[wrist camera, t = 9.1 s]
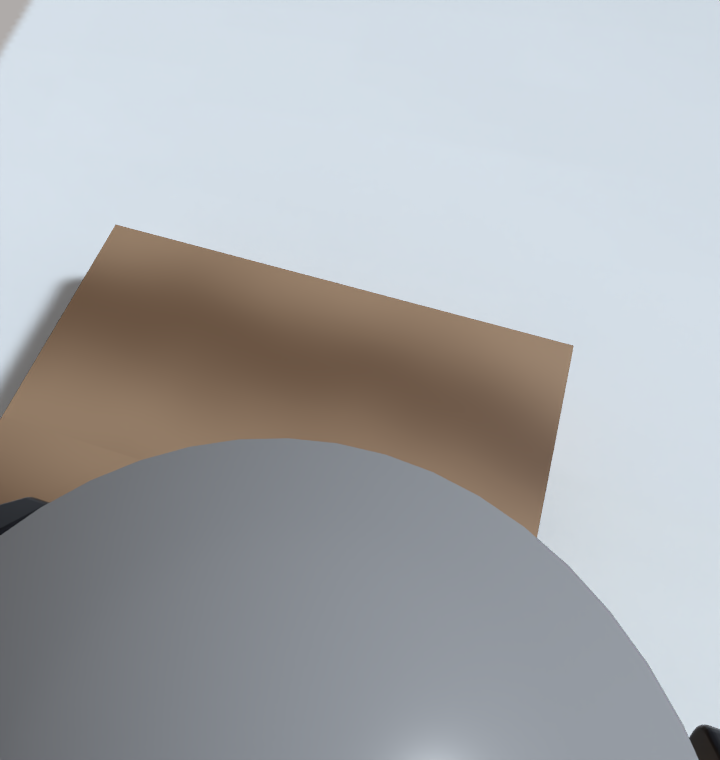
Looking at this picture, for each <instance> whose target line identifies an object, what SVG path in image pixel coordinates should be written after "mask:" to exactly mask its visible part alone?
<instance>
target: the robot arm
mask: <svg viewBox="0 0 720 760" xmlns="http://www.w3.org/2000/svg"><path fill="white" fill-rule="evenodd" d="M48 503H50V502H47V501H44V500H41V499H38V498H35V497H26V498H22V499H18V500H15V501H11V502H7V503H4V504H0V535H2V534H3V533H5V532H6V531H8V530H9V529H10V528H12V527H13V526H15V525H16V524H18V523H19V522H21V521H22V520H23V519H25V518H26V517H28V516H29V515H31V514H32V513H34V512H35V511H36V510H38V509H39V508H41V507H42V506H44V505H46V504H48ZM689 739H690V741H691V744H692V746H693V748H694V750H695V753H696V755H697V757H698V759H699V760H720V729H718V728H715V727H712V726H709V725H700V726H698V727H696V729H695V730H694V731H693V733H692V734H691V736H690V737H689Z"/></svg>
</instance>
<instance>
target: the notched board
mask: <svg viewBox="0 0 720 760" xmlns="http://www.w3.org/2000/svg"><path fill="white" fill-rule="evenodd" d="M572 351H573V345H569V344H565V343H561V342H557V341H554V340H550V339H546V338H542V337H539V336H535V335H531V334H527V333H523V332H520V331H516V330H512V329H508V328H504V327H501V326H497V325H493V324H489V323H486V322H482V321H478V320H474V319H470V318H467V317H463V316H459V315H455V314H452V313H448V312H444V311H440V310H436V309H433V308H429V307H425V306H421V305H418V304H414V303H410V302H406V301H402V300H399V299H395V298H391V297H387V296H384V295H380V294H376V293H372V292H368V291H365V290H361V289H357V288H353V287H349V286H346V285H342V284H338V283H334V282H331V281H327V280H323V279H319V278H315V277H312V276H308V275H304V274H300V273H297V272H293V271H289V270H285V269H281V268H278V267H274V266H270V265H266V264H263V263H259V262H255V261H251V260H247V259H244V258H240V257H236V256H232V255H228V254H225V253H221V252H217V251H213V250H210V249H206V248H202V247H198V246H194V245H191V244H187V243H183V242H179V241H176V240H172V239H168V238H164V237H160V236H157V235H153V234H149V233H145V232H142V231H138V230H134V229H130V228H126V227H123V226H119V225H115V227H114V228H113V230H112V232H111V233H110V235H109V237H108V239H107V240H106V242H105V244H104V245H103V247H102V249H101V250H100V252H99V254H98V255H97V257H96V259H95V260H94V262H93V264H92V266H91V267H90V269H89V271H88V272H87V274H86V276H85V277H84V279H83V281H82V282H81V284H80V286H79V287H78V289H77V291H76V293H75V294H74V296H73V298H72V299H71V301H70V303H69V304H68V306H67V308H66V309H65V311H64V313H63V314H62V316H61V318H60V320H59V321H58V323H57V325H56V326H55V328H54V330H53V331H52V333H51V335H50V336H49V338H48V340H47V341H46V343H45V345H44V347H43V348H42V350H41V352H40V353H39V355H38V357H37V358H36V360H35V362H34V363H33V365H32V367H31V368H30V370H29V372H28V374H27V375H26V377H25V379H24V380H23V382H22V384H21V385H20V387H19V389H18V390H17V392H16V394H15V395H14V397H13V399H12V401H11V402H10V404H9V406H8V407H7V409H6V411H5V412H4V414H3V416H2V417H1V419H0V504H4V503H7V502H11V501H15V500H18V499H22V498H26V497H35V498H38V499H41V500H44V501H47V502H52V501H54V500H55V499H57V498H59V497H61V496H63V495H65V494H66V493H68V492H70V491H72V490H74V489H76V488H77V487H79V486H81V485H83V484H85V483H87V482H89V481H90V480H93V479H95V478H98V477H100V476H103V475H105V474H108V473H110V472H113V471H115V470H117V469H120V468H122V467H125V466H127V465H130V464H132V463H135V462H137V461H140V460H143V459H147V458H151V457H154V456H158V455H161V454H165V453H169V452H172V451H176V450H180V449H183V448H187V447H192V446H198V445H205V444H212V443H218V442H225V441H232V440H239V439H279V438H290V439H300V440H310V441H320V442H329V443H338V444H342V445H347V446H351V447H355V448H359V449H364V450H368V451H372V452H377V453H381V454H385V455H388V456H391V457H393V458H396V459H399V460H401V461H404V462H407V463H410V464H412V465H415V466H418V467H420V468H423V469H426V470H428V471H431V472H434V473H436V474H437V475H439V476H441V477H443V478H445V479H447V480H449V481H451V482H453V483H455V484H457V485H459V486H461V487H462V488H464V489H466V490H468V491H470V492H472V493H474V494H476V495H478V496H480V497H481V498H483V499H484V500H486V501H487V502H488V503H490V504H491V505H493V506H494V507H496V508H497V509H499V510H500V511H502V512H503V513H504V514H506V515H507V516H509V517H510V518H512V519H513V520H515V521H516V522H518V523H519V524H521V525H522V526H523V527H525V528H526V529H527V530H528V531H529V532H531V533H532V534H533V535H534V536H535V537H536V538H537V534H538V528H539V523H540V518H541V513H542V508H543V502H544V497H545V492H546V487H547V481H548V476H549V471H550V466H551V461H552V455H553V450H554V445H555V440H556V434H557V429H558V424H559V419H560V414H561V408H562V403H563V398H564V393H565V388H566V382H567V377H568V372H569V367H570V361H571V356H572Z"/></svg>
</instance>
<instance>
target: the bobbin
mask: <svg viewBox="0 0 720 760" xmlns="http://www.w3.org/2000/svg"><path fill="white" fill-rule="evenodd" d="M0 760H699V759H698V757H697V755H696V753H695V750H694V748H693V746H692V744H691V741H690V739H689V737H688V735H687V732H686V730H685V728H684V726H683V724H682V722H681V720H680V719H679V717H678V715H677V713H676V712H675V710H674V708H673V706H672V705H671V703H670V701H669V699H668V698H667V696H666V694H665V693H664V691H663V689H662V687H661V686H660V684H659V682H658V680H657V679H656V677H655V675H654V673H653V672H652V670H651V668H650V666H649V665H648V663H647V662H646V660H645V659H644V658H643V656H642V655H641V654H640V652H639V651H638V649H637V648H636V647H635V645H634V644H633V643H632V641H631V640H630V638H629V637H628V636H627V634H626V633H625V632H624V630H623V629H622V627H621V626H620V625H619V623H618V622H617V620H616V619H615V618H614V616H613V615H612V614H611V612H610V611H609V610H608V609H607V608H606V606H605V605H604V604H603V603H602V602H601V601H600V600H599V599H598V598H597V597H596V595H595V594H594V593H593V592H592V591H591V590H590V589H589V588H588V587H587V586H586V584H585V583H584V582H583V581H582V580H581V579H580V578H579V577H578V576H577V575H576V573H575V572H574V571H573V570H572V569H571V568H570V567H569V566H568V565H567V564H566V563H565V562H564V561H563V560H561V559H560V558H559V557H558V556H557V555H556V554H555V553H553V552H552V551H551V550H550V549H549V548H548V547H547V546H545V545H544V544H543V543H542V542H541V541H540V540H539V539H537V538H536V537H535V536H534V535H533V534H532V533H531V532H529V531H528V530H527V529H526V528H525V527H523V526H522V525H521V524H519V523H518V522H516V521H515V520H513V519H512V518H510V517H509V516H507V515H506V514H504V513H503V512H502V511H500V510H499V509H497V508H496V507H494V506H493V505H491V504H490V503H488V502H487V501H486V500H484V499H483V498H481V497H480V496H478V495H476V494H474V493H472V492H470V491H468V490H466V489H464V488H462V487H461V486H459V485H457V484H455V483H453V482H451V481H449V480H447V479H445V478H443V477H441V476H439V475H437V474H436V473H434V472H431V471H428V470H426V469H423V468H420V467H418V466H415V465H412V464H410V463H407V462H404V461H401V460H399V459H396V458H393V457H391V456H388V455H385V454H381V453H377V452H372V451H368V450H364V449H359V448H355V447H351V446H347V445H342V444H338V443H329V442H320V441H310V440H300V439H290V438H279V439H239V440H232V441H225V442H218V443H212V444H205V445H198V446H192V447H187V448H183V449H180V450H176V451H172V452H169V453H165V454H161V455H158V456H154V457H151V458H147V459H143V460H140V461H137V462H135V463H132V464H130V465H127V466H125V467H122V468H120V469H117V470H115V471H113V472H110V473H108V474H105V475H103V476H100V477H98V478H95V479H93V480H90V481H89V482H87V483H85V484H83V485H81V486H79V487H77V488H76V489H74V490H72V491H70V492H68V493H66V494H65V495H63V496H61V497H59V498H57V499H55V500H54V501H52V502H50V503H48V504H46V505H44V506H42V507H41V508H39V509H38V510H36V511H35V512H34V513H32V514H31V515H29V516H28V517H26V518H25V519H23V520H22V521H21V522H19V523H18V524H16V525H15V526H13V527H12V528H10V529H9V530H8V531H6V532H5V533H3V534H2V535H0Z"/></svg>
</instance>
